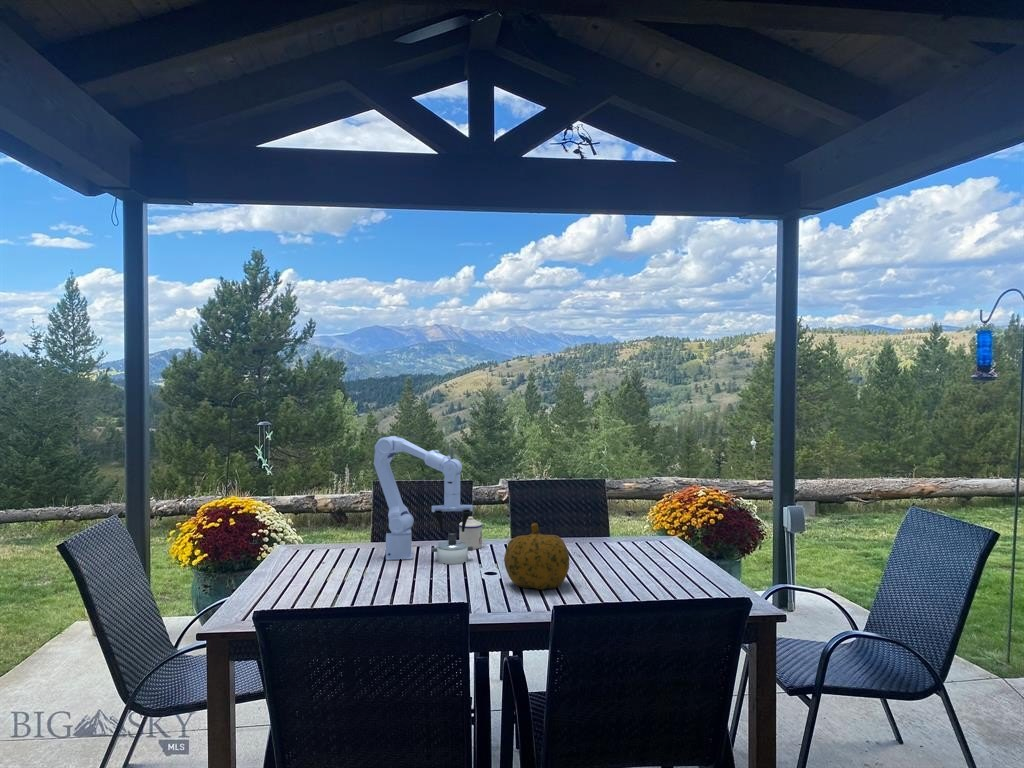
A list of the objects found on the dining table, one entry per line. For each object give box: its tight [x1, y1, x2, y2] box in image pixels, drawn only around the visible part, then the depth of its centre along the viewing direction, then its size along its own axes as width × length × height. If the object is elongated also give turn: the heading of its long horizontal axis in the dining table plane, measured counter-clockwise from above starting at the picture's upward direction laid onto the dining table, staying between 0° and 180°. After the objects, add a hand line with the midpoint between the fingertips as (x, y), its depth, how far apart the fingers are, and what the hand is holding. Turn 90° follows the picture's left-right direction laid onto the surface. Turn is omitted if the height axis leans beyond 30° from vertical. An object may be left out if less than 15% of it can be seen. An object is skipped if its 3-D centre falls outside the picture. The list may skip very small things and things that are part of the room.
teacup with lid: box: [458, 516, 483, 550], centre depth 282 cm, size 12×9×12 cm
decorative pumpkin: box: [503, 522, 570, 591], centre depth 229 cm, size 20×21×20 cm
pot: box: [431, 545, 474, 565], centre depth 260 cm, size 15×11×5 cm
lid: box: [437, 532, 466, 550], centre depth 260 cm, size 10×10×4 cm
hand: (452, 531), depth 260 cm, fingers open, 7 cm apart
